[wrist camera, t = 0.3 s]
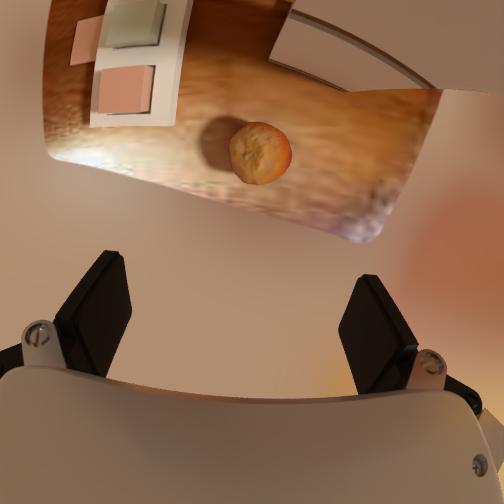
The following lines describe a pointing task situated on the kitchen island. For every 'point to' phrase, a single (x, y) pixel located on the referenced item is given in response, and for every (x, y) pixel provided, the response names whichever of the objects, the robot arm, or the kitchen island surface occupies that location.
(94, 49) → the tile
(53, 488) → the robot arm
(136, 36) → the key sage
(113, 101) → the key terracotta
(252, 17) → the kitchen island surface
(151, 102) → the keypad board
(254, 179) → the fruit
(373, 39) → the tiered shelf stand
